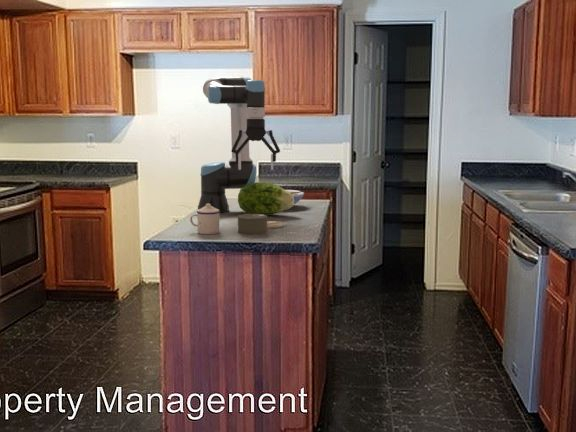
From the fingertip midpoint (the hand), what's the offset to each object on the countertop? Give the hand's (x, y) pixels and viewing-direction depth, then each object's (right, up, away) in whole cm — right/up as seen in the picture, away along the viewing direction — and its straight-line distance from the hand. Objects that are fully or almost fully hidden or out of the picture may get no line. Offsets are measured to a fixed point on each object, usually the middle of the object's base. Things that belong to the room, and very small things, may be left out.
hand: (255, 169), depth 260 cm
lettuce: (+3, -19, +31) cm, 36 cm away
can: (-1, -26, -9) cm, 28 cm away
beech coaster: (+6, -24, +4) cm, 25 cm away
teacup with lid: (-20, -26, -10) cm, 34 cm away
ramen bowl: (+10, -15, +56) cm, 59 cm away
